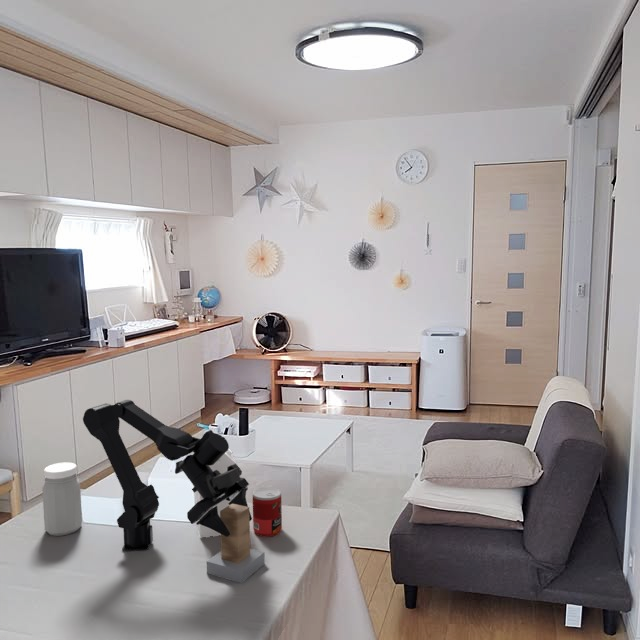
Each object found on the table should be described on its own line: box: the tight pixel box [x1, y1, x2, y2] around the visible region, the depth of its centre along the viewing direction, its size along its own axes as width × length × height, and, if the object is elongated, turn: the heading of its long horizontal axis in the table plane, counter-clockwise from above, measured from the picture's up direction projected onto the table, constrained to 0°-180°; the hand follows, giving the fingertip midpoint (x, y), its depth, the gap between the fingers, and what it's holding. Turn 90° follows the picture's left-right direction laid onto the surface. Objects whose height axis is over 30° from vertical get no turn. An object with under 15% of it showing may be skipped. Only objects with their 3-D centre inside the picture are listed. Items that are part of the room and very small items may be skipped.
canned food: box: [252, 487, 283, 538], centre depth 168 cm, size 8×8×11 cm
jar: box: [41, 461, 83, 537], centre depth 169 cm, size 10×10×18 cm
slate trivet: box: [206, 548, 266, 584], centre depth 148 cm, size 10×10×3 cm
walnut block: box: [220, 504, 251, 564], centre depth 147 cm, size 5×5×12 cm
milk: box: [195, 432, 239, 539], centre depth 170 cm, size 12×12×26 cm
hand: (240, 527), depth 146 cm, fingers open, 9 cm apart
